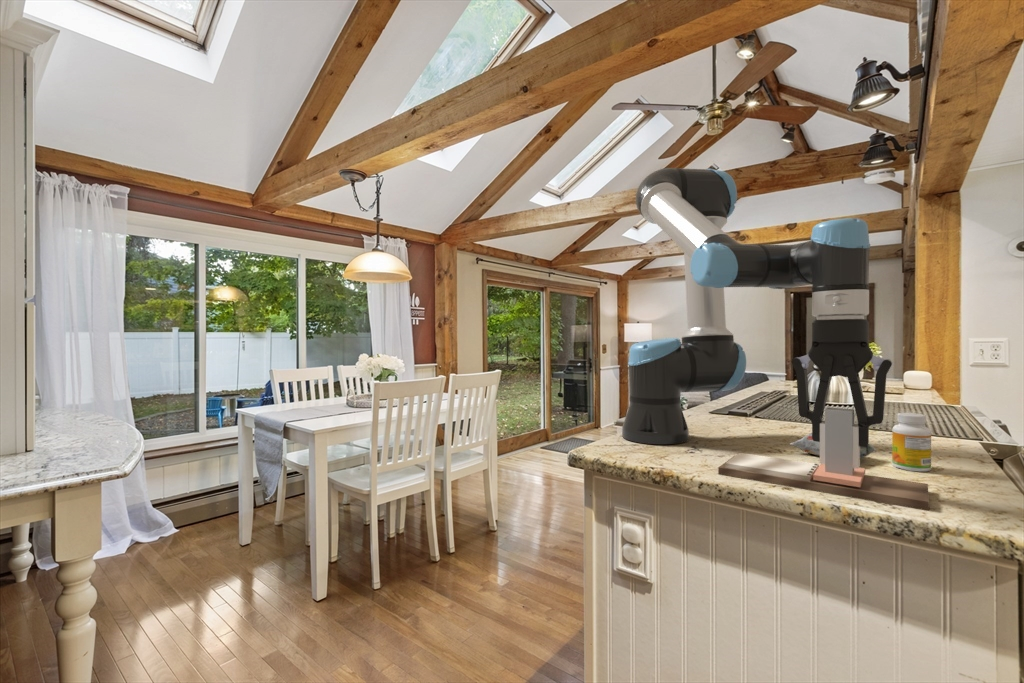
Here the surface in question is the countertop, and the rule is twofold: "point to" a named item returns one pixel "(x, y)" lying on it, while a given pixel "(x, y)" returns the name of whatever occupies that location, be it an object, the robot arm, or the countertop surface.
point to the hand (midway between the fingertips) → (839, 463)
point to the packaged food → (814, 446)
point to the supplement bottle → (911, 443)
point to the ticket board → (802, 478)
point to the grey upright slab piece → (839, 450)
